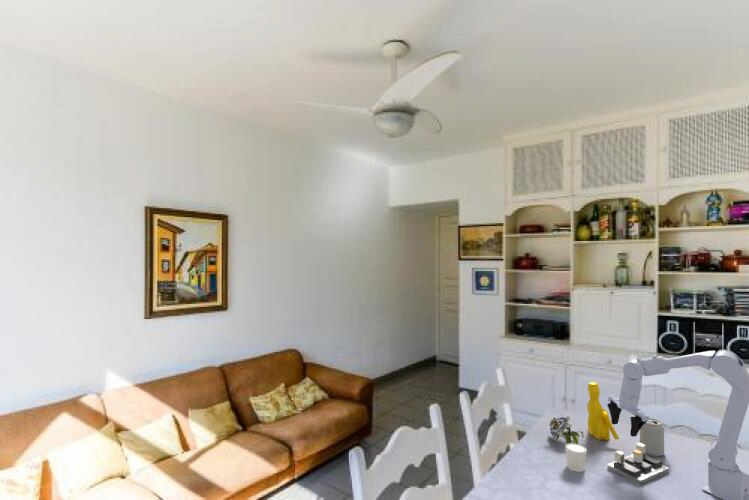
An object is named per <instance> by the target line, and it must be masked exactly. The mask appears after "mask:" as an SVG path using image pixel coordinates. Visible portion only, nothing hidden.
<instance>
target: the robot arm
mask: <svg viewBox="0 0 749 500" xmlns="http://www.w3.org/2000/svg"><path fill="white" fill-rule="evenodd" d="M690 367H700V368H703V369H704V370H708V371H710V370H711V369H712V371H713V372H715V374H717V375H719V376H720V377H722V378H723V379H724V380H725V381H726V382H727V383H728V384H729V386H731V390H730V394H729V397H728V401H727V405H726V408H725V412H724V414H723V418H722V421H721V425H720V429H719V432H718V435H717V437H716V438H715V439H714V440H712V442H711V447H710V450H709V451H708V459H707V476H708V477H707V479H708V484H707V485H706V486H704V487H702V489H701V490H702V491H704V492H706V493H708V494H711V495H712V496H715V497H717V498H719V499H721V500H749V474H747V473H745V472H744V471H742V470H741V469H740V467H739V465H738V464H737V461H736V459H737V455H738V448H737V443H738V441H739V437H740V432H741V429H742V428H743V427H742V426H743V424H744V420H745V418H746V417H745V416H746V414H747V410H748V409H749V408H748V407H749V371H748V370H747V368H746V366H745V362H744V361H743V360H742V359H741V358H740V357H739V356H738V355H737V354H736V353H734V352H733V351H732V350H728V349H719V350H718V351H716V350H707V351H701V352H695V353H691V354H686V355H681V356H675V357H669V358H666V357H664V356H663V355H659V356H658V355H657V354H653V355H651V357H646V358H642V359H641V358H640V357H639V358H636V359H630V360H629V361H627V362H626V363H625V364H624V365H623V368H622V371H623V378H622V381H621V386H620V387H621V388H620V394H619V397H616V396H615V395H608V399H607V401H608V403H607V408H608V411H609V414H610V418H611V419H610V421H611V423H612V425H618V423H619V420H620V416H621V412H622V410H625V411H627V413H630V414H631V415H633V416H630V417H629V419H630V423H631V425H630V426H631V427H630V434H629V435H630V436H631V437H637V435H638V433H640V429H641V427H642V426H643V425H644V424H645V423H646V422H647V421H648V420H649V418H650V416H649V415H648V414H647V413H645V411H643V410H641V409H640V408H639V407H638V406H639V402H640V395H641V389H642V385H643V384H642V381H643V377H644V376H645V377H651V376H657V375H666V374H669V372H670V370H671V369H673V370H674V369H679V368H681V369H682V368H690Z"/></svg>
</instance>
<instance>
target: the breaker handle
mask: <svg viewBox="0 0 749 500" xmlns="http://www.w3.org/2000/svg"><path fill="white" fill-rule="evenodd" d="M642 454H643V452H641V451H639V450H636V449H635V450H632V455H633V460H634V461H636V462H638V463H640V462H643V456H642Z"/></svg>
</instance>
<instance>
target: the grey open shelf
mask: <svg viewBox="0 0 749 500" xmlns="http://www.w3.org/2000/svg"><path fill="white" fill-rule="evenodd" d="M635 445H636V447H635V450H639V451H641V452H643V454H642V456H643V462H640V463H638V462H636V461H634V460H633V454H631V455H628V456H626V457H625V452H622V451H620V450H616V451H614V461H613V462H610V463H608V464H607V469H608V470H610V471H612V472H614V473H615V474H618V475H619V476H621V477H622V478H623V477H624V478H626V479H628V480H629V481H631V482H633V483H635V484H637V485H639V486H641V485H643V484H646V483H649V482H651V481H652V480H655V479H657V478H659V477H662V476H663V475H666V474H668V473H669V472H670V471H669V470H670V469H669V468H670V467H667V466H666V465H663V460H661V459H659V458H656V457H655V456H651V455H648V454H646V450H645V445H644V444H641V443H640V442H638V443H636V444H635Z"/></svg>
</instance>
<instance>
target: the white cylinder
mask: <svg viewBox="0 0 749 500" xmlns="http://www.w3.org/2000/svg"><path fill="white" fill-rule="evenodd" d="M564 448H565V457H566V465H567V468H568V469H569V470H570V471H574V472H576V473H577V472H578V473H583V472H585V471H586V465H587V453H588V450H587V448H586V447H585V446H583V445H582V444H579V443H578V444H574V442H572V443H570V444H567V443H566V444H565V445H564Z"/></svg>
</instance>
